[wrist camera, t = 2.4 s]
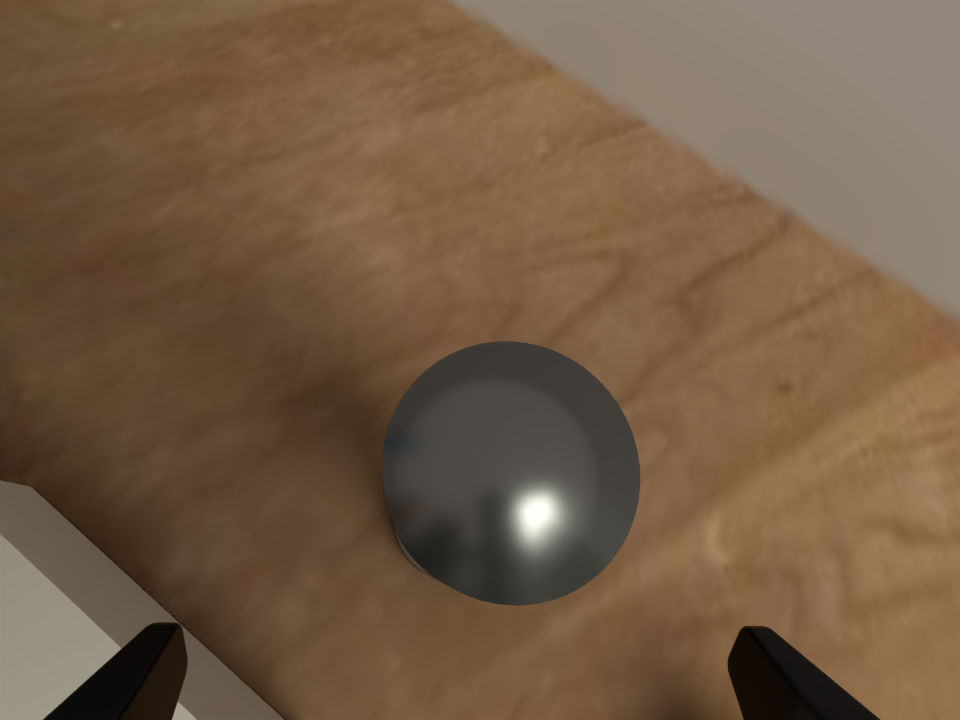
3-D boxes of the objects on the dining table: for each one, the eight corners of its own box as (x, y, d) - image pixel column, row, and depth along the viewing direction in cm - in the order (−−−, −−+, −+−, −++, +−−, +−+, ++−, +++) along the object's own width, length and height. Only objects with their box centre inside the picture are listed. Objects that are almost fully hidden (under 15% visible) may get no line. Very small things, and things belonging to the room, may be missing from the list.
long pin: (504, 520, 19) (685, 443, 7) (449, 596, 18) (544, 669, 6) (436, 465, 19) (490, 296, 7) (378, 536, 18) (324, 484, 6)
